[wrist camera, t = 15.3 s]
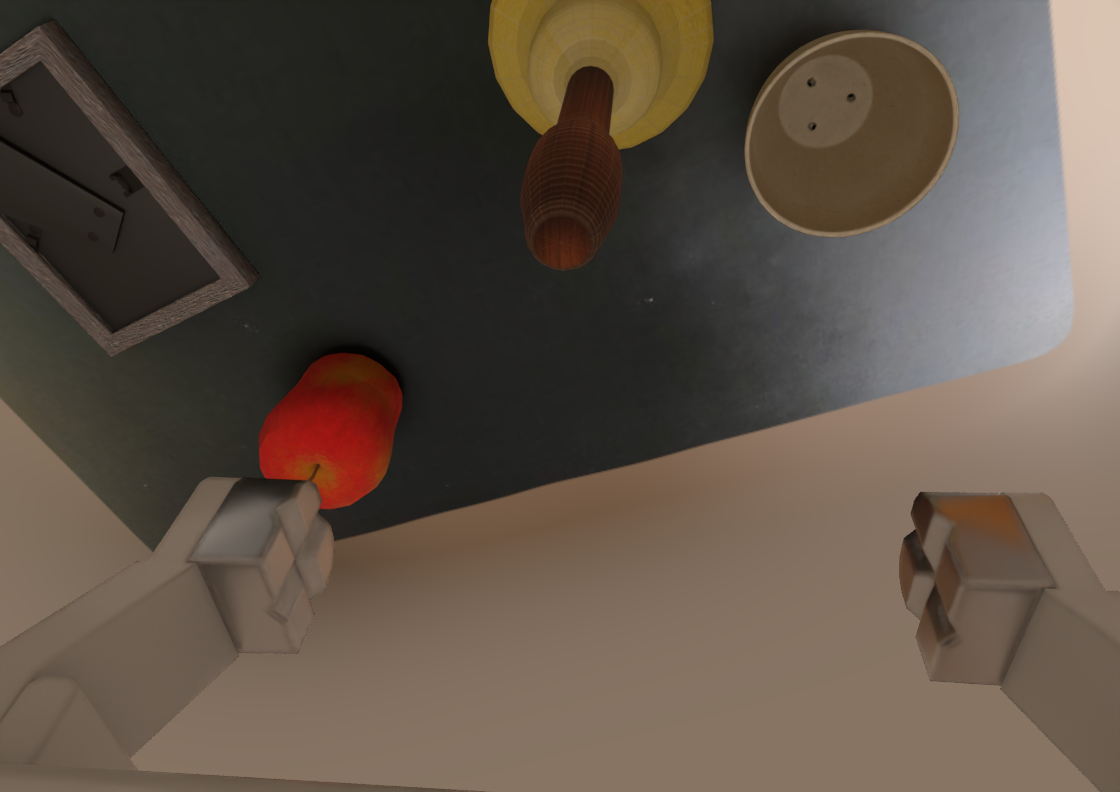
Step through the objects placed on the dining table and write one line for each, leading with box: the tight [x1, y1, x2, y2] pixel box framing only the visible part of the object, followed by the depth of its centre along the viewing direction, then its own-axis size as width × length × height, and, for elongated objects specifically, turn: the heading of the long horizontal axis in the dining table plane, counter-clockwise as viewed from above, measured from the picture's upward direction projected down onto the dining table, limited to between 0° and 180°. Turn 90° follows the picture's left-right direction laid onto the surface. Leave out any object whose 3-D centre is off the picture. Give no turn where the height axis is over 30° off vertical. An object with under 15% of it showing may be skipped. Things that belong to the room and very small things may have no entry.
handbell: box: [488, 0, 714, 271], centre depth 34 cm, size 12×12×25 cm
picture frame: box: [0, 20, 259, 356], centre depth 52 cm, size 13×2×18 cm
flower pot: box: [745, 30, 959, 237], centre depth 42 cm, size 10×10×7 cm
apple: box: [259, 353, 403, 509], centre depth 55 cm, size 9×8×12 cm
